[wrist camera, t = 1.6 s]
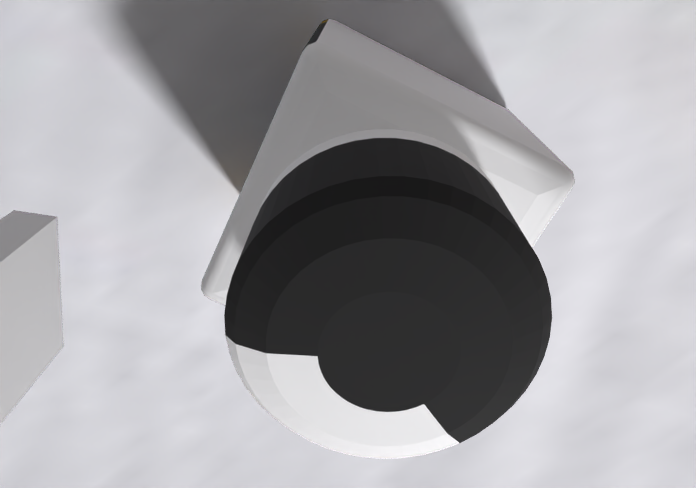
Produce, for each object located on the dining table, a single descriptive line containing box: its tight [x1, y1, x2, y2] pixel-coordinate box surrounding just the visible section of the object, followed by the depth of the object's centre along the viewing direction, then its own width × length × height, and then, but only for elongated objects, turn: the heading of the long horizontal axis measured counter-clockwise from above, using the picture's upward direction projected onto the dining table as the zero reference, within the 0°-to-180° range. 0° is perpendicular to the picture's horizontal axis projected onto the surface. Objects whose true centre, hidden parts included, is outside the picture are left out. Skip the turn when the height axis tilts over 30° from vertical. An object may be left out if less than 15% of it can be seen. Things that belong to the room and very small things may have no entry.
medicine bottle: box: [201, 19, 575, 459], centre depth 16 cm, size 7×7×12 cm
